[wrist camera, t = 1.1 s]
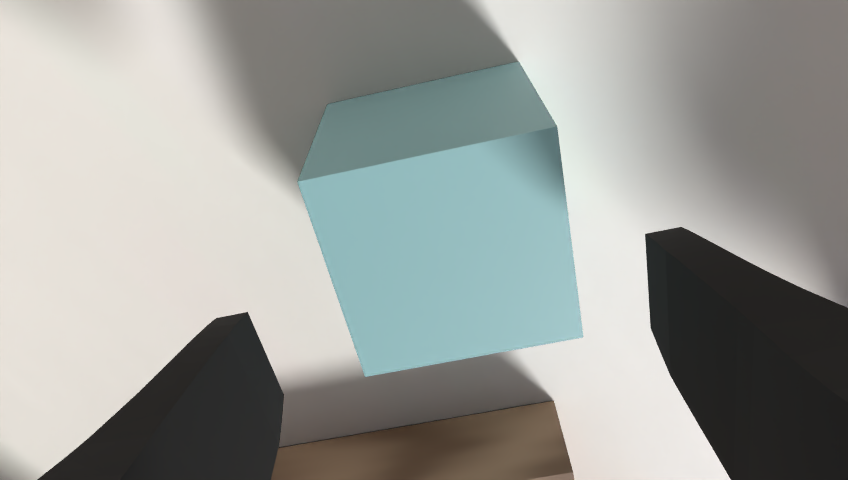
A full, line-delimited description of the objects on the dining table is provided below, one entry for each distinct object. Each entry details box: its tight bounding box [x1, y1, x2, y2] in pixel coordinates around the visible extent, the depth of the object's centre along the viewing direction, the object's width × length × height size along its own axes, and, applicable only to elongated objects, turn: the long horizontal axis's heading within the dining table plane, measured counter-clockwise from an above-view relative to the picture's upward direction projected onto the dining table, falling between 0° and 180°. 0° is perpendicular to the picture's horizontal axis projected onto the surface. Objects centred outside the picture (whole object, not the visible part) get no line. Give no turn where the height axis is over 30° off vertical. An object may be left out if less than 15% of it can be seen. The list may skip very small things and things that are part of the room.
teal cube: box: [297, 61, 583, 377], centre depth 15 cm, size 5×5×5 cm
